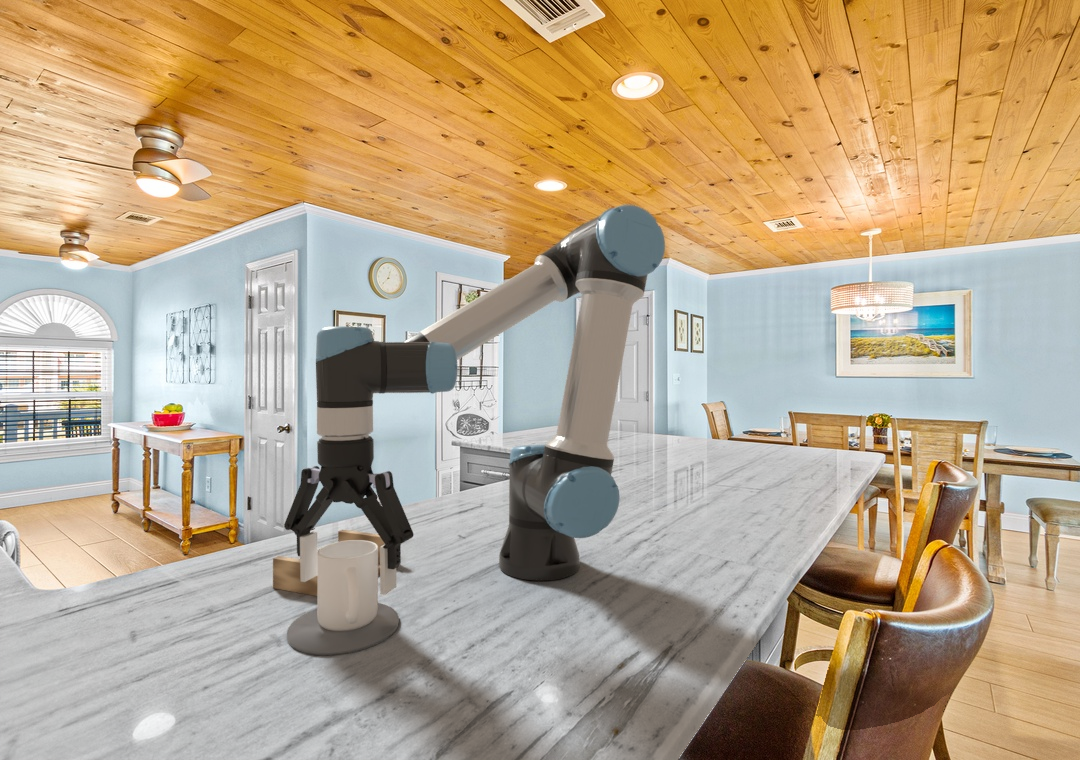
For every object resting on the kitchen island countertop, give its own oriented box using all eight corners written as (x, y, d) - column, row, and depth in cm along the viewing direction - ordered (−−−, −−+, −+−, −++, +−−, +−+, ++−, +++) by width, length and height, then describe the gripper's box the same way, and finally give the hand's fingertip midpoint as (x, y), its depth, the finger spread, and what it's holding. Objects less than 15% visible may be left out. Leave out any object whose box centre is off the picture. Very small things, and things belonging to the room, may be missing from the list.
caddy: (397, 563, 104) (397, 536, 104) (334, 599, 88) (335, 568, 88) (342, 554, 109) (342, 529, 108) (272, 588, 92) (273, 558, 92)
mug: (385, 638, 74) (386, 563, 74) (319, 650, 71) (320, 571, 71) (373, 603, 85) (374, 537, 85) (316, 612, 82) (316, 543, 82)
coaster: (418, 614, 83) (418, 610, 83) (354, 664, 69) (354, 659, 69) (336, 599, 88) (336, 595, 88) (261, 643, 74) (261, 638, 74)
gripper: (436, 436, 77) (438, 585, 78) (295, 429, 86) (297, 564, 86) (407, 443, 70) (409, 607, 71) (255, 436, 78) (258, 583, 79)
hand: (347, 584), depth 79 cm, fingers open, 13 cm apart
